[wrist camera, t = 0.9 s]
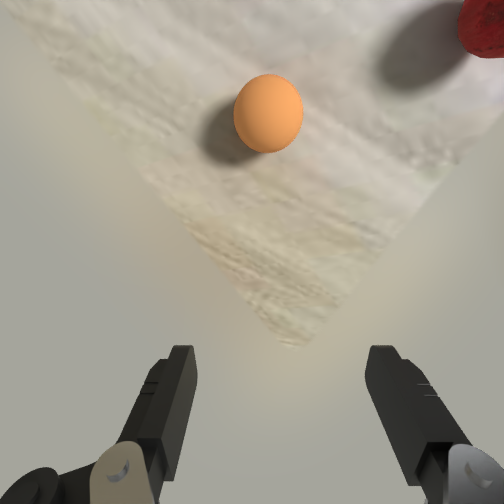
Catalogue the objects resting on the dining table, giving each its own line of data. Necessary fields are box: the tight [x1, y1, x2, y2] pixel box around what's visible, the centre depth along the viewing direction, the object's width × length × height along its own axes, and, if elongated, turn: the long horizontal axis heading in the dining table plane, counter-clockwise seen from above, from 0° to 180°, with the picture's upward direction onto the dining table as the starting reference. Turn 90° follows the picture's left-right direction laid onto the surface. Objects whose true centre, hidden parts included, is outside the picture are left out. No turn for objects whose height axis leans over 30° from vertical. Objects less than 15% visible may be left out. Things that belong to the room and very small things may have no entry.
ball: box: [234, 74, 303, 153], centre depth 21 cm, size 6×6×6 cm
